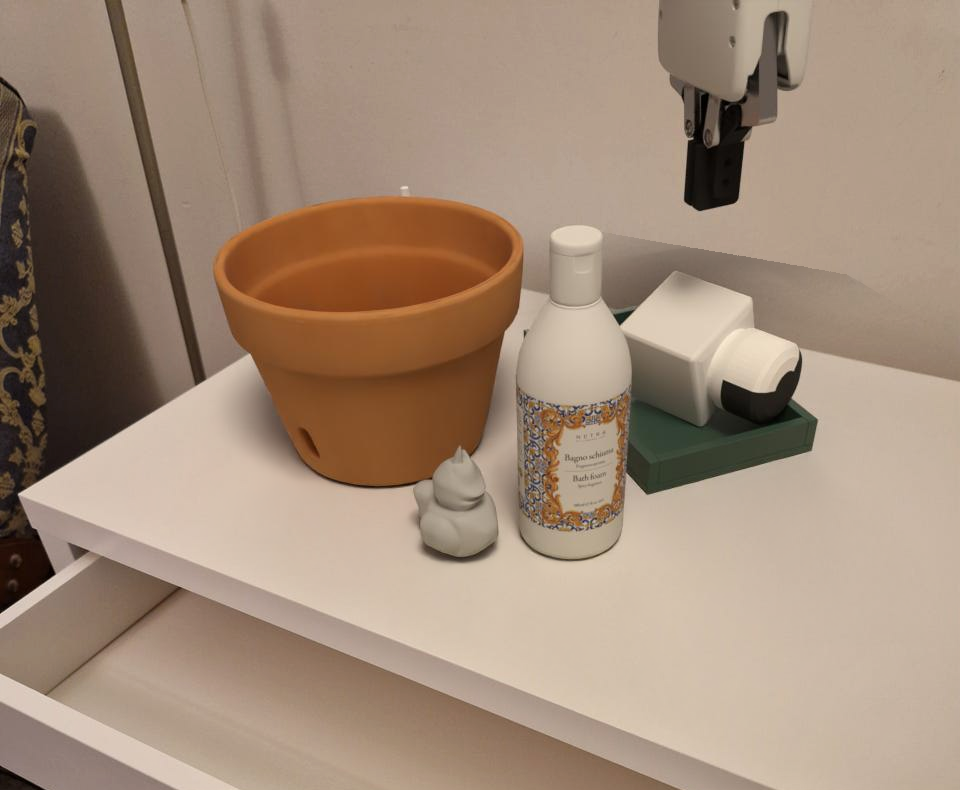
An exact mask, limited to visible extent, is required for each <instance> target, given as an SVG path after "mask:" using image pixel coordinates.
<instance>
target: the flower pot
mask: <svg viewBox="0 0 960 790" xmlns="http://www.w3.org/2000/svg"><path fill="white" fill-rule="evenodd" d="M524 249H525V247H524V240H523V238H522V235H521V233H520V232H519V230H518V229H517V227H515V226H514V225H513V224H512V223H511V222H510V221H508V220H507V219H506V218H504V217H502V216H500V215H498V214H496V213H494V212H492V211H489V210H488V209H484V208H482V207H479V206H475V205H472V204H468V203H464V202H460V201H455V200H449V199H441V198H433V197H421V196H411V197H400V195H396V196H395V195H393V196H392V195H388V196H386V195H385V196H383V195H381V196H368V197H355V198H354V197H353V198H346V199H339V200H332V201H326V202H320V203H317V204H311V205H307V206H303V207H300V208H296V209H292V210H289V211H286V212H284V213H280V214H278V215H274V216H272V217H269V218H267V219H265V220H262V221H260V222H257V223H255V224H253V225H251V226H249V227H247V228H245V229H243V230H242V231H240V232H238V233H236V234H235V235H234V236H232V237H230V238H229V239H228V240H227V241H226V242H225V243H224V244H223V245H222V246H221V247H220V249H219V250H218V252H217V253H216V255H215V257H214V259H213V263H212V273H213V279H214V283H215V285H216V289H217V292H218V296H219V299H220V302H221V305H222V309H223V312H224V316H225V318H226V322H227V324H228V328H229V332H230V334H231V336H232V337H233V339H234V340H235V341H236V343H237V345H238V346H240V347H241V348H242V350H243V351H245V352H247V353H248V354H250V356H251V358H252V360H253V363H254V364H255V366H256V369H257V371H258V373H259V375H260V377H261V379H262V381H263V384H264V386H265V388H266V389H267V392H268V394H269V397H270V398H271V400H272V402H273V404H274V406H275V408H276V411H277V413H278V415H279V417H280V419H281V421H282V424H283V425H284V428H285V430H286V432H287V434H288V436H289V437H290V440H291V441H292V444H294V448H295V449H296V451H297V453H298V455H299V456H300V458H301V459H302V460H303V462H304V463H305V464H306V465H308V467H310V468H311V469H312V470H314V471H315V472H317V473H318V474H320V475H323V476H324V477H327V478H329V479H331V480H335V481H338V482H343V483H346V484H351V485H352V484H353V485H360V486H369V487H371V486H372V487H373V486H374V487H384V486H385V487H386V486H398V485H404V484H411V483H415V482H416V483H417V482H420V481H423V480H429V479H431V478H433V474H434V472H435V470H436V469H437V468H438V467H439V465H440V464H442V463H443V462H444V461H446V460H447V459H450V458H452V457H454V455H455V453H456V451H457V449H458V447H459V446H461V450H463V449H464V450H465V451H466V452H467V454H468V455H469V456H470V455H472V454H473V452H474V451H475V450H476V449H477V447H478V445H479V444H480V441H481V439H482V436H483V433H484V430H485V427H486V425H487V422H488V417H489V412H490V408H491V403H492V398H493V394H494V388H495V382H496V378H497V371H498V367H499V362H500V356H501V352H502V347H503V343H504V342H503V341H504V337H505V335H506V331H507V330H508V329H509V328H510V327H511V325H513V323H514V322H515V319H516V317H517V315H518V312H519V309H520V304H521V303H520V302H521V294H522V286H523V274H524V253H525V252H524Z"/></svg>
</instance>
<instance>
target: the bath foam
mask: <svg viewBox="0 0 960 790" xmlns="http://www.w3.org/2000/svg"><path fill="white" fill-rule="evenodd" d="M548 241H549V250H548V251H549V253H548V254H549V257H548V258H549V263H548V264H549V265H548V266H549V267H548V268H549V271H548V272H549V278H548V279H549V280H548V282H549V283H548V285H549V297H548V299H547V300H546V302H545V304H544V305H543V307H542V308H541V309H540V311H539V312H538V314H537V316H535V318H534V320H533V321H532V323H531V325H530V326H529V328H528V329H529V330H528V332H527V334H526V336H525V338H524V337H523V340H522V343H521V345H520V349H519V352H518V357H517V361H516V371H515V400H516V401H515V403H516V405H515V406H516V408H515V409H516V411H515V412H516V440H517V441H516V447H517V449H516V450H517V489H518V493H517V494H518V518H519V519H518V521H519V522H518V523H519V531H520V535H521V536H522V538H523V540H524V541H525V542H526V544H528V546H529V547H531V548H532V549H533V550H535V551H537V552H539V553H540V554H542V555H545V556H547V557H551V558H555V559H562V560H580V559H581V560H582V559H587V558H592V557H595V556H597V555H600V554H602V553H604V552H606V551H607V550H609V549H610V548H611V547H613V546H614V544H616V542H617V541H618V540H619V538H620V536H621V534H622V532H623V531H622V530H623V525H624V524H623V523H624V510H625V508H624V507H625V500H626V499H625V498H626V497H625V496H626V481H627V471H626V468H627V452H628V436H629V420H630V404H631V388H632V366H631V358H630V352H629V348H628V345H627V341H626V339H625V336H624V334H623V332H622V330H621V328H620V326H619V324H618V323H617V321H616V319H615V318H614V316H613V315H612V313H611V311H612V310H610V309H609V307H608V305H607V304H606V302H605V300H604V299H603V297H602V286H603V285H602V283H603V282H602V281H603V259H604V258H603V257H604V235H603V233H602V232H601V230H599V228H596V227H593V226H589V225H583V224H582V225H581V224H580V225H579V224H573V225H566V226H562V227H559V228H557V229H555V230H554V231H553V232H551V233H550V236H549V240H548Z"/></svg>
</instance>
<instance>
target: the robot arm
mask: <svg viewBox="0 0 960 790" xmlns="http://www.w3.org/2000/svg"><path fill="white" fill-rule="evenodd" d="M813 5H814V0H658V15H657V57H658V62H659V63H660V65H661V66H662V68H663V69H664V70H665V71H666V72H667V73H668V74H669V84H670V86H671V88H673V90H674V91H675V92H676V93H677V94H678V95H679V96H680V97H681V99H682V103H683V130H684V134H685V136H686V138H687V139H688V140H687V146H686V147H687V148H686V159H685V160H686V163H685V174H684V175H685V176H684V190H683V201H684V203H685V204H686V205H688V206H689V207H692V208H693V209H694V210H696V211H697V212H703V211H707V210H708V211H709V210H713V209H717V208H722V207H726V206H730V205H734V204H736V203H737V202H738V201H739V199H740V191H741V180H742V173H743V161H744V153H745V144H746V141H749V140H750V139H751V136H752V132H753V128H754V127H759V126H763V125H769V124H774V123H776V121H777V118H778V91H783V92H791V91H795V90H796V89H799V87H800V86H801V85H802V83H803V82H804V78H805V73H806V68H807V63H808V53H809V45H810V35H811V27H812V16H813Z"/></svg>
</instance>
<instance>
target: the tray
mask: <svg viewBox="0 0 960 790" xmlns="http://www.w3.org/2000/svg"><path fill="white" fill-rule="evenodd" d="M640 305H641V304H637V305H632V306H628V307H622V308H617V309H614V310H610V311H611V313H612V315H613V316H614V318H615V319H616V321H617V323H618V324H619V326H620V325H621V324H622V323H623V322H624V321H625V320H626V319H627V318H628V317H629V316H630V315H631V314H632V313H633V312H634V311H635V310H636V309H637V308H638V307H639V306H640ZM528 330H529V328H527V329H523V339H524V338H525V336H526V334H527V332H528ZM818 423H819V419H818V418H817V417H816V416H814V414H812V413H810V411H808V410H807V409H806V408H804V407H803V406H802V405H801V404H799V403H798V402H797V401H796V400H795V399H793V397H792V398H791V400H790V401H789V403H788V404H787V405H786V407H785V408H784V409H783V410H782V411H781V413H780V414H779V415H778V416H777V417H775V418H774V419H773V420H771V421H770V422H767V423H764V424H760V425H759V424H755V423H753V422H750V421H748V420H746V419H743V418H741V417H739V416H737V415H734V414H732V413H730V412H727V411H725V410H723V409H719V410H718V411H717V412H716V413H715V414H714V416H713V417H712V418H711V419H710V420H709V421H708V422H707V423H706V424H705V425H704V426H702V427H699V426H696V425H694V424H692V423H690V422H687V421H685V420H683V419H681V418H679V417H676V416H674V415H672V414H670V413H668V412H665V411H663V410H661V409H659V408H657V407H654V406H652V405H650V404H648V403H646V402H643V401H641V400H639V399H637V398H634V397H633V396H631V404H630V420H629V436H628V452H627V468H626V473H627V474H628V475H629V476H630V477H631V478H632V479H633V480H634V481H635V482H636V484H637V485H638V486H639V487H640V488H641V490H643V492H644V493H646V495H649V494H653V493H657V492H662V491H665V490H669V489H672V488H677V487H680V486H683V485H684V486H685V485H687V484H690V483H694V482H698V481H702V480H703V481H704V480H706V479H710V478H714V477H717V476H721V475H725V474H729V473H732V472H737V471H741V470H743V469H747V468H751V467H754V466H758V465H762V464H766V463H769V462H773V461H776V460H777V461H778V460H781V459H784V458H788V457H792V456H795V455H799V454H803V453H806V452H810V451H812V450H813V447H814V442H815V438H816V433H817V428H818Z"/></svg>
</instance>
